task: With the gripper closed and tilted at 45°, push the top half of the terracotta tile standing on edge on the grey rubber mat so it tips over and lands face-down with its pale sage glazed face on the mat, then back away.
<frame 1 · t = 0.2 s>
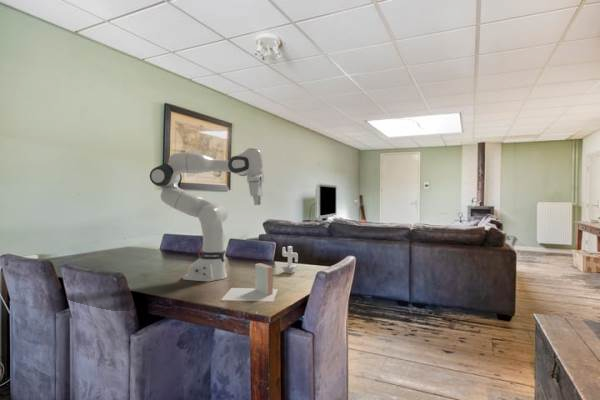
hand: (257, 205, 175), 39 cm above the table, tool pointing down, fingers open, 8 cm apart
figurine: (289, 272, 190), on the table
tile: (263, 291, 150), point 1 cm above the table, touching mat
mat: (251, 295, 146), on the table
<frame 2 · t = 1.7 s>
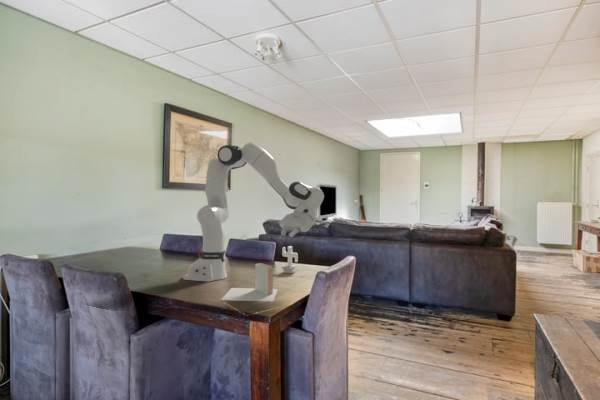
hand: (286, 235, 157), 25 cm above the table, tool tilted 45°, fingers open, 5 cm apart
nothing on the table moved.
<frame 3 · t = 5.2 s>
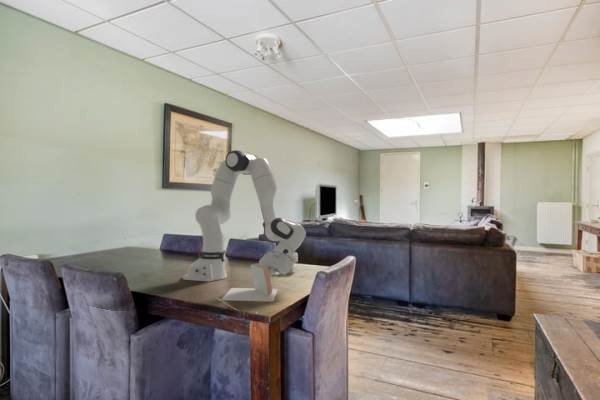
hand: (265, 276, 150), 7 cm above the table, tool tilted 45°, fingers closed
tile: (263, 291, 150), point 1 cm above the table, tilted 12°, touching mat
everything else where it was.
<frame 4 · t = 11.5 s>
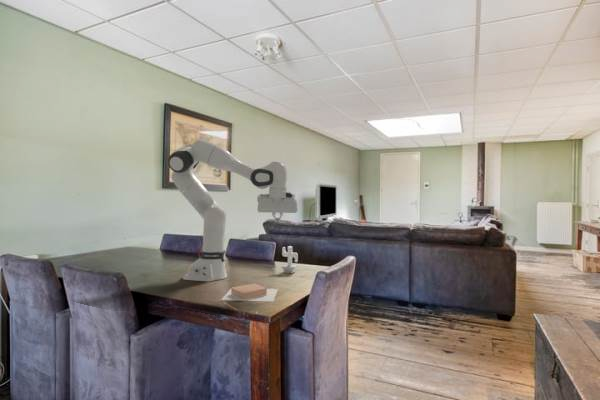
hand: (277, 221, 167), 31 cm above the table, tool pointing down, fingers closed
tile: (260, 289, 149), point 2 cm above the table, tilted 90°, touching mat
everything else where it was.
at the end: tile tilted 90°; tile inside the target area (0.9 cm from its centre), point 2.1 cm above the table; the gripper is holding nothing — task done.
